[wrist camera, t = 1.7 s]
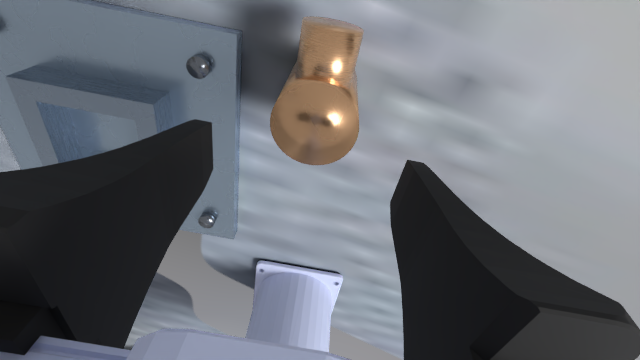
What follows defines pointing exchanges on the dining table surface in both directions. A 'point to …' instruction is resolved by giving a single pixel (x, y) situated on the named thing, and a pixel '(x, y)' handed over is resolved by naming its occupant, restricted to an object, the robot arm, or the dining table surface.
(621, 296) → the dining table surface
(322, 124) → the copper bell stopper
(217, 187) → the flange plate
